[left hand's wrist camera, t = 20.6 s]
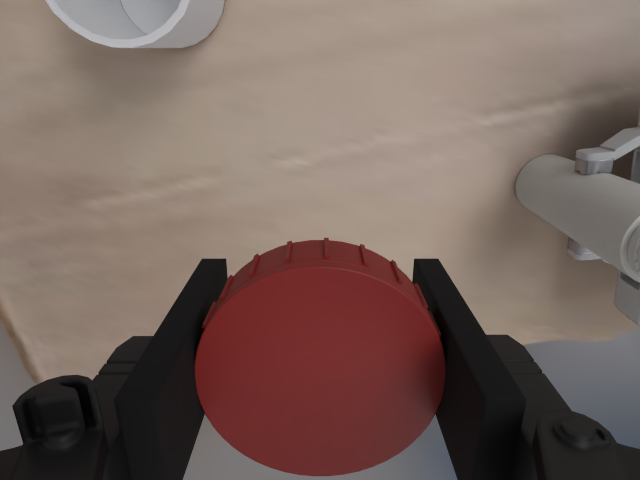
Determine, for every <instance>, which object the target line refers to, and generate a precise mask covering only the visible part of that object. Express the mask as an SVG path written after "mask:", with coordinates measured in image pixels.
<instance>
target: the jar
mask: <svg viewBox="0 0 640 480" xmlns="http://www.w3.org/2000/svg"><path fill="white" fill-rule="evenodd" d="M515 191H516V196H517V198H518V200H519V202H520V203H521V204H522V205H523V206H524V207H525V208H526V209H528V210H529V211H531V212H533V213H534V214H536V215H537V216H539V217H540V218H542V219H543V220H545V221H546V222H548V223H549V224H551V225H552V226H554V227H555V228H557V229H558V230H560V231H561V232H563V233H564V234H566V235H567V236H569V237H570V238H572V239H573V240H575V241H576V242H578V243H579V244H581V245H582V246H584V247H585V248H587V249H588V250H590V251H591V252H593V253H594V254H596V255H597V256H599V257H600V258H602V259H603V260H605V261H606V262H608V263H609V264H611V265H612V266H614V267H615V268H617V269H618V270H620V271H621V272H623V273H624V274H626V275H627V276H629V277H630V278H632V279H634V280H635V281H637V282H640V184H638V183H635V182H632V181H630V180H627V179H624V178H621V177H618V176H615V175H613V174H610V173H600V172H598V173H596V174H592V175H585V174H581V173H580V172H576V171H575V161H573V160H570V159H567V158H564V157H561V156H558V155H553V154H547V155H542V156H539V157H536V158H534V159H533V160H531V161H530V162H528V163H527V164H526V165H525V166H524V167H523V169H522V170H521V171H520V173H519V175H518V177H517V180H516V185H515Z"/></svg>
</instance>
